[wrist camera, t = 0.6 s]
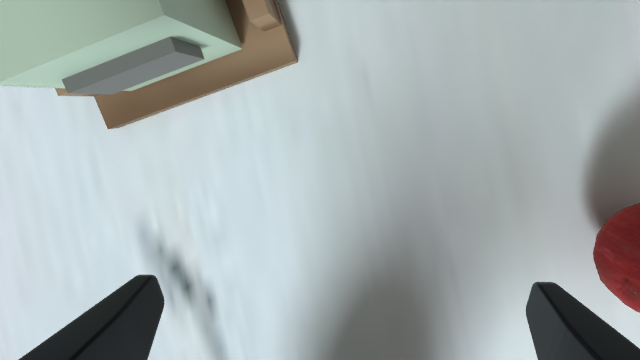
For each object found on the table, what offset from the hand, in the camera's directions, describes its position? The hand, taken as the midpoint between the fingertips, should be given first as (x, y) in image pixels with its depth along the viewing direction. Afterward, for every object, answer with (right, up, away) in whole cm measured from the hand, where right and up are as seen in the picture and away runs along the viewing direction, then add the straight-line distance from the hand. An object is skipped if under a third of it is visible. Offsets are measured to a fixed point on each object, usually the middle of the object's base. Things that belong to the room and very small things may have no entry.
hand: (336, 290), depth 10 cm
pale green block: (-8, +10, +13) cm, 18 cm away
